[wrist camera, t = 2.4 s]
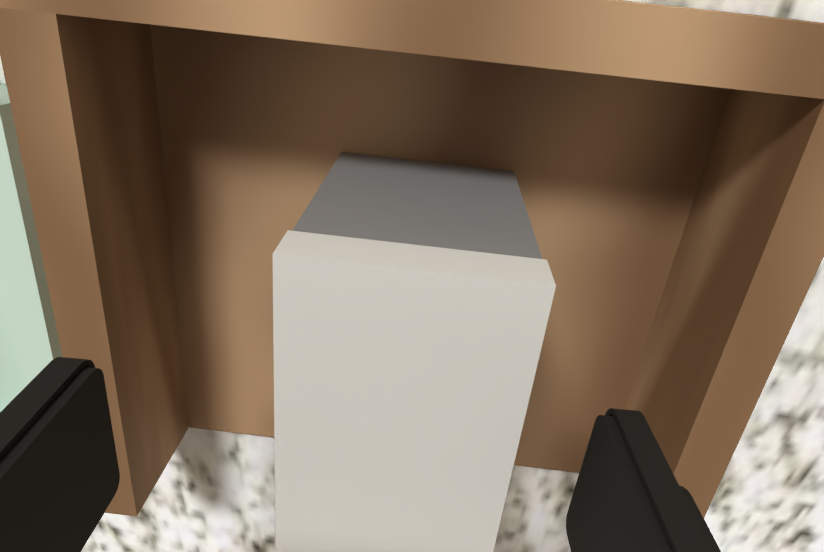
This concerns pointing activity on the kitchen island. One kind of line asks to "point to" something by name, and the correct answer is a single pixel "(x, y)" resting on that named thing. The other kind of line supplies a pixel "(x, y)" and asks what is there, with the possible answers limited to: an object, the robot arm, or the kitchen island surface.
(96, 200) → the bay
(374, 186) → the off-white upright block
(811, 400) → the kitchen island surface
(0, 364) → the tray
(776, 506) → the kitchen island surface
